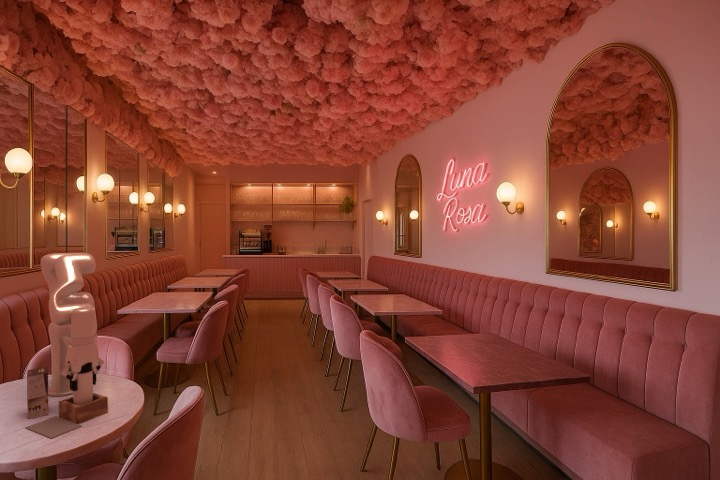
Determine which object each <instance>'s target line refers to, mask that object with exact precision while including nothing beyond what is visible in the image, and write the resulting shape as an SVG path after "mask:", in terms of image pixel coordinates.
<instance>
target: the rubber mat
mask: <svg viewBox="0 0 720 480" xmlns="http://www.w3.org/2000/svg"><path fill="white" fill-rule="evenodd" d="M82 427H83V425H81V424H76V423H73V422H71V421H68V420H65V419H63V418H60V417H59V416H57V415H55V416H53V417H49V418H48V419H44V420H42V421H38V422H36V423H33V424H31V425H28V426H25V429H26V430H28V431H30V432H34V433H35V434H38V435H40V436H43V437H45V438H48V439H50V440H52V439H55V438H57V437H60V436H62V435H64V434H67V433H70V432H72V431H75V430H77V429H79V428H82Z"/></svg>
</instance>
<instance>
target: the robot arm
mask: <svg viewBox="0 0 720 480" xmlns="http://www.w3.org/2000/svg"><path fill="white" fill-rule="evenodd" d="M96 266H97V265H96V260H95V258H94V256H93V255H92V254H90V253H87V252H55V253H48V254H46V255H44V256H42V257H41V259H40V269H41V272H42V276H43V277H44V280H45V281H46V283H47V286H48V294H49V300H48V310H49V317H50V321H51V322H50V323H49V325H48V335H49V341H50V347H51V348H50V349H51V351H50V352H51V353H50V354H51V355H50V356H51V380H50V381H49V383H50V384H51V388H48V397H64V396H65V397H66V396H69V395H73V391H77V380H76V377H77V374H78V372H81V367H82V366H83V365H86V364H88V363H91V362H92V368H93V386H94V385H95V386H96V384H97V375H98V373H99V370H100V369H101V367H102V366H103V365H104V364H105V360H103V359H101V358H100V356H99V349H98V348H99V347H98V343H97V341H96V339H97V338H98V334H96V333H97V331H98V322H97V321H98V320H97V314H96V305H95V299H94V297H93V295H92V294H91V293H90V292H88V291H81V290H82V289H83V288H84V286H85V284H84V278H83V276H82V275H83V274H85V275H86V274H93V273H94V272H95V271H96V269H97V267H96ZM80 291H81V292H80Z"/></svg>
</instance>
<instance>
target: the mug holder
mask: <svg viewBox="0 0 720 480" xmlns="http://www.w3.org/2000/svg"><path fill="white" fill-rule="evenodd" d="M107 413H109V397H108V396H105V395H102V394H98V393H96V392H93V401H91V402H88V403H86V404H83V405H77V404H74V403H73V396H71V397H68V398H65V399H62V400H59V401H58V417H60V418H63V419H65V420H68V421H71V422H73V423H76V424H79V425H81V424H83V423H85V422H87V421H90V420H93V419H94V418H95V419H96V418H98V417H100V416H103V415H105V414H107Z"/></svg>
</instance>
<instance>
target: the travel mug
mask: <svg viewBox="0 0 720 480" xmlns="http://www.w3.org/2000/svg"><path fill="white" fill-rule="evenodd" d="M76 380H77V391H73V394H72V397H73V403H74V404H77V405H83V404H86V403H88V402H91V401H93V393H94V391H93V389H94V388H93V386H94V385H93V368H92V362H91V363H88V364H86V365H83V366H82V367H81V372H78V374H77V377H76Z"/></svg>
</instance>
